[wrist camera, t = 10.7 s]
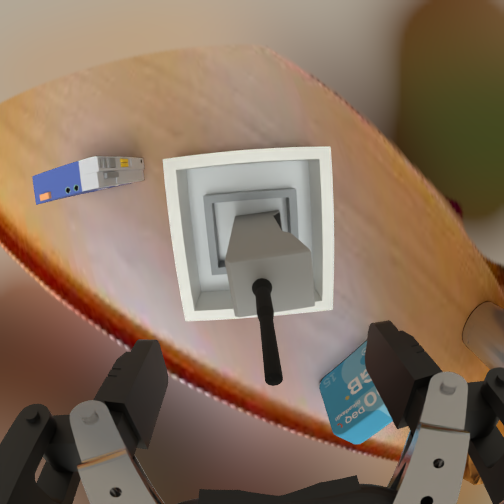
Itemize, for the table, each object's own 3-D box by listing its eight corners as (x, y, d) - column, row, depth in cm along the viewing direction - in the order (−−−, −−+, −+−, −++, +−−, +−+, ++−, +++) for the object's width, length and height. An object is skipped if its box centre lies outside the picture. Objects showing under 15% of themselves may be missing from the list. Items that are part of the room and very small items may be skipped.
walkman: (91, 192, 32) (33, 205, 21) (89, 170, 32) (29, 176, 20) (146, 180, 32) (100, 188, 21) (143, 157, 32) (96, 154, 20)
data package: (376, 330, 39) (412, 380, 27) (391, 344, 40) (426, 393, 28) (316, 382, 41) (334, 440, 29) (334, 393, 42) (353, 449, 30)
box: (316, 150, 32) (330, 146, 26) (320, 288, 36) (332, 309, 31) (176, 160, 32) (162, 159, 26) (194, 298, 36) (185, 321, 31)
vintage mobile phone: (283, 241, 34) (358, 401, 10) (239, 247, 34) (228, 421, 10) (279, 209, 33) (364, 320, 9) (234, 215, 33) (205, 344, 9)
